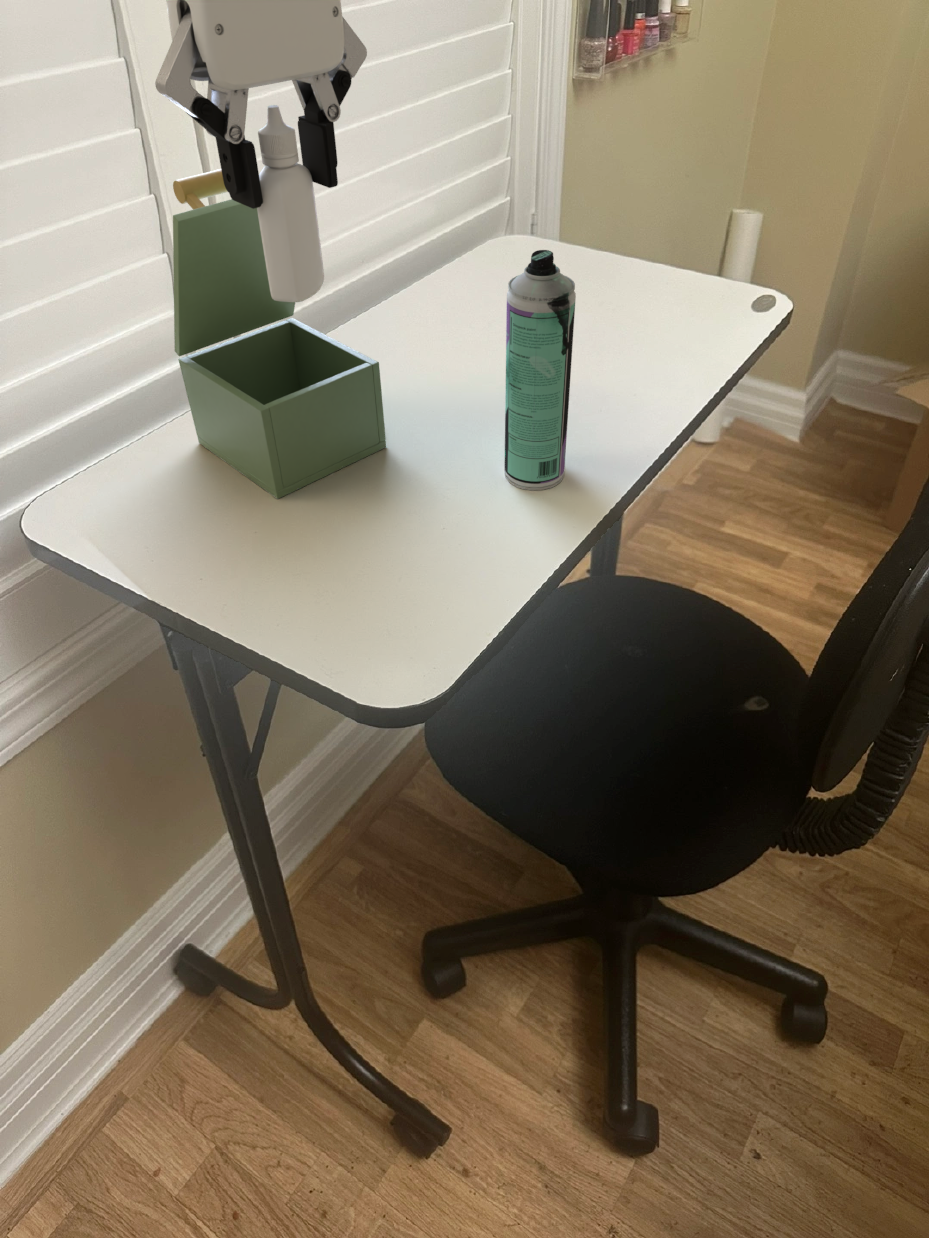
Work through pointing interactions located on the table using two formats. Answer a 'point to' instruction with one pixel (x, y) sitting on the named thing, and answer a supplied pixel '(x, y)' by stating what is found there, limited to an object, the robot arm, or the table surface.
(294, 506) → the table surface
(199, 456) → the table surface
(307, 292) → the eye dropper bottle
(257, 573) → the table surface
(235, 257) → the lid
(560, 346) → the spray can
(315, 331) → the chest
